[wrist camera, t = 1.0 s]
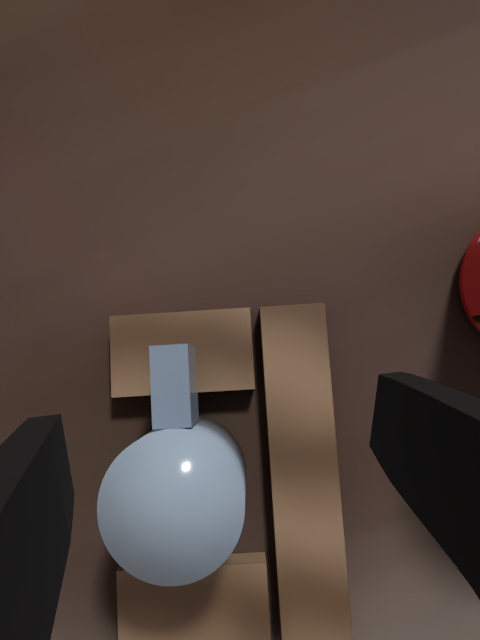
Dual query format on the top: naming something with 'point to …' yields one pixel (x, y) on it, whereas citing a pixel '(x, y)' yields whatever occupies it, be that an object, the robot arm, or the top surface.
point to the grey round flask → (174, 484)
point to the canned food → (471, 281)
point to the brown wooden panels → (285, 473)
